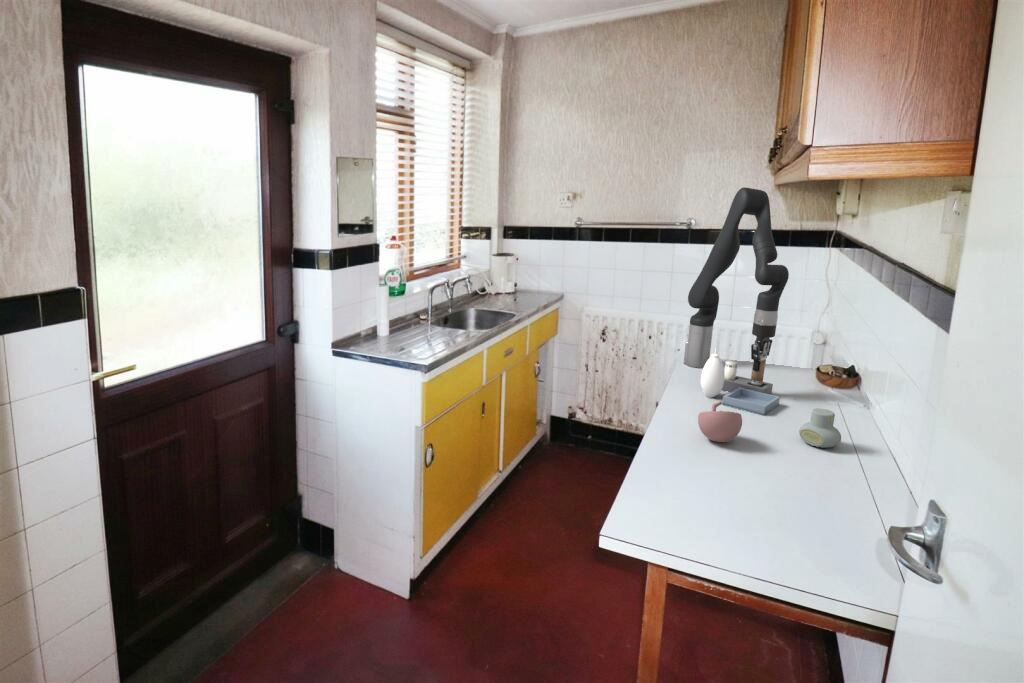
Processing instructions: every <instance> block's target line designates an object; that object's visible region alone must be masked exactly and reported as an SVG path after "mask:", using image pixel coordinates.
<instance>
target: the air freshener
mask: <svg viewBox="0 0 1024 683" xmlns="http://www.w3.org/2000/svg"><path fill="white" fill-rule="evenodd" d="M835 416H836V414H835V412H834V411H832V410H830V409H826V408H822V407H821V408H820V407H819V408H818V407H817V408H814V409H812V411H811V416H810V421H808V422H806V423H804V424H802V425H801V426H799V429H798V434H799V436H800V438H801V439H802V440H803V441H804V442H805V443H807V445H809V444H810V445H809V446H811V445H812V446H811V447H813V446H816V447H815V448H818V447H821V449H822V448H823V449H827V448H828V449H829V448H833V447H836V446H838V444H839V443H840V442H842V435H841V432H840V430H839V429H838V428H836V427H835V426H834V424H835Z"/></svg>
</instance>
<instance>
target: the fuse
mask: <svg viewBox="0 0 1024 683" xmlns="http://www.w3.org/2000/svg"><path fill="white" fill-rule="evenodd" d="M737 368H738V361H736V360H726V361H725V364H724V375H725V378H724V379H728V380H732V381H735V378H736V376H737V371H738V370H737Z"/></svg>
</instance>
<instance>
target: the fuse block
mask: <svg viewBox="0 0 1024 683" xmlns="http://www.w3.org/2000/svg"><path fill="white" fill-rule="evenodd" d="M750 382H751V378H748V377H743V376H740V375H739V376H738V375H736V378H735V381H732V380H728V379H724V385H723V388H722V390H724V391H723V392H726V391H728V392H727V393H730V392H732V391H734V390H736V389H737V388H739V387H740V388H744V389H748V390H753V391H757V392H761V393H765V394H769V395H773V394H772V393H773V386H774V383H772V382H771V383H770V382H767V381H766V382H765V381H763V384H762V385H753V384H751V383H750ZM722 390H721V391H722Z"/></svg>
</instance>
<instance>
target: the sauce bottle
mask: <svg viewBox="0 0 1024 683" xmlns="http://www.w3.org/2000/svg"><path fill="white" fill-rule="evenodd" d="M724 372H725V367H724V364H723V361H722V360H721V358H720V355H719V354H718V353H717V347H716V346H715V350H714V353H711V354H710V358H709V359H708V361H707V362H706V364H705V366H704V368H702V371H701V374H700V386H701V391H702V392H703V394H705V396H706V397H708V398H715V397H716V396H718V395H719V394H720V393H721V392H722V388H723V385H724V378H725V375H724Z"/></svg>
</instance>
